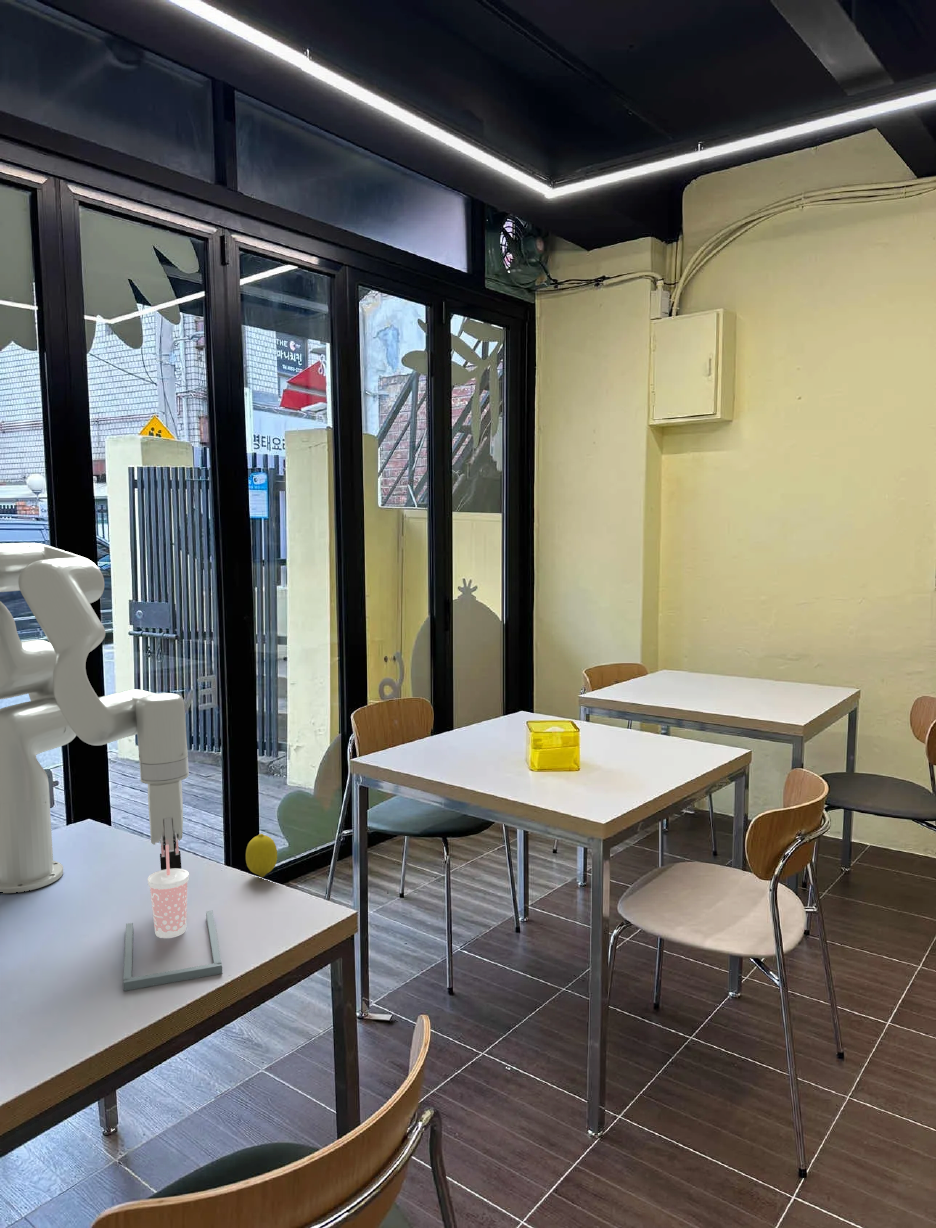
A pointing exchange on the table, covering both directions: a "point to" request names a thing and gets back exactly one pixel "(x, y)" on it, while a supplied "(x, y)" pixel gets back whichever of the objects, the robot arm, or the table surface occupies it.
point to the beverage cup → (169, 900)
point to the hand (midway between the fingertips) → (171, 876)
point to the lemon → (261, 855)
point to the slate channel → (173, 975)
